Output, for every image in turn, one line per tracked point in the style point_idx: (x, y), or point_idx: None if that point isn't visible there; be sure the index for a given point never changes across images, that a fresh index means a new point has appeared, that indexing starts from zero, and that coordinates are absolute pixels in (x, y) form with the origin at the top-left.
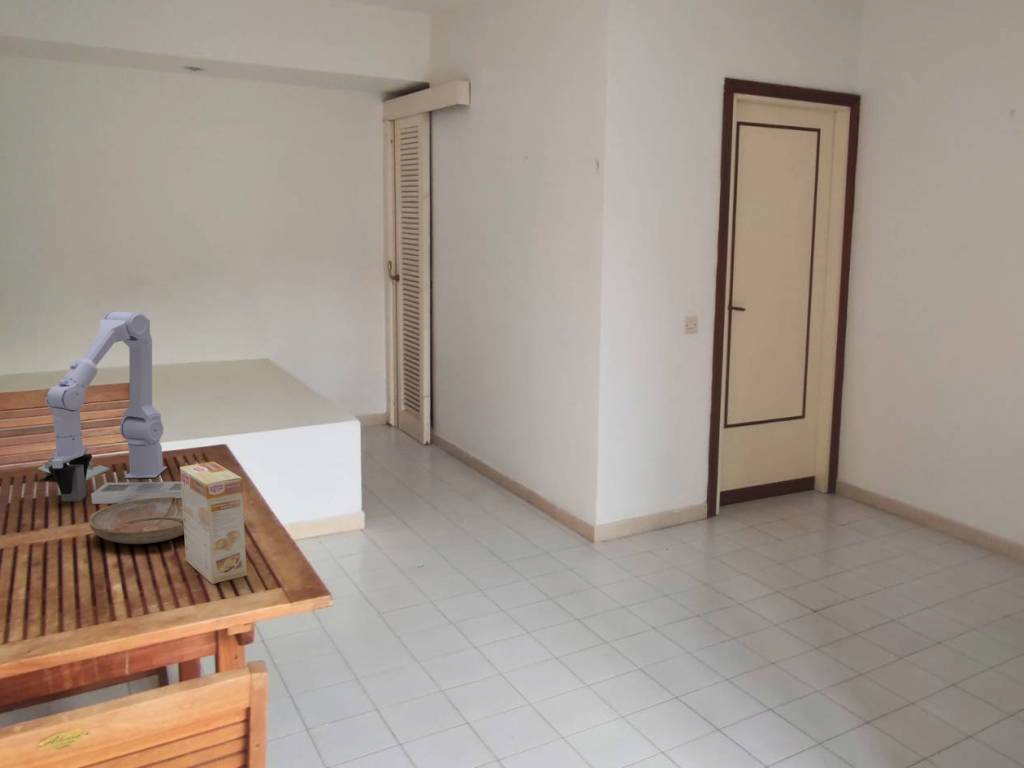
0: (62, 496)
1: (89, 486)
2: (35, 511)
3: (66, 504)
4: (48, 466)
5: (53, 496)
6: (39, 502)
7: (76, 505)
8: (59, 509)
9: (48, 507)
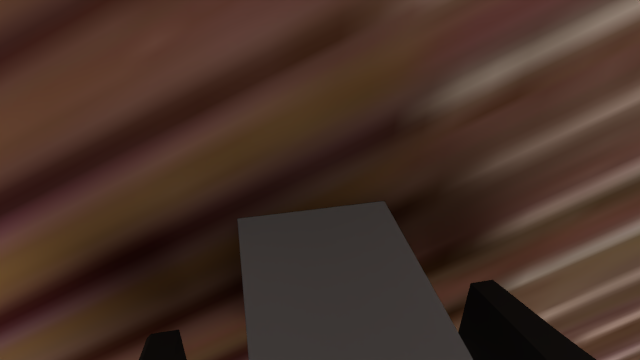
0: (241, 255)
1: (615, 211)
2: None
3: (154, 289)
4: None
5: (398, 65)
6: (185, 19)
7: None
8: (8, 309)
9: (35, 201)
